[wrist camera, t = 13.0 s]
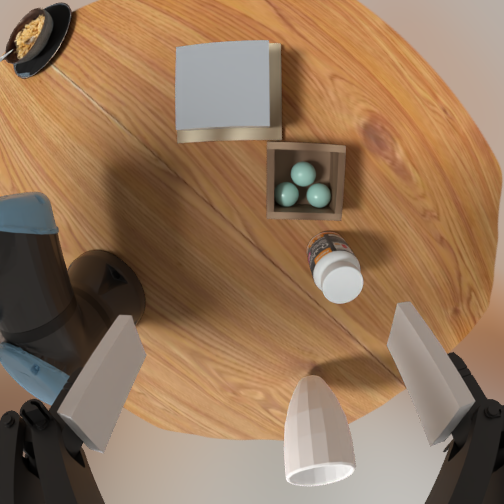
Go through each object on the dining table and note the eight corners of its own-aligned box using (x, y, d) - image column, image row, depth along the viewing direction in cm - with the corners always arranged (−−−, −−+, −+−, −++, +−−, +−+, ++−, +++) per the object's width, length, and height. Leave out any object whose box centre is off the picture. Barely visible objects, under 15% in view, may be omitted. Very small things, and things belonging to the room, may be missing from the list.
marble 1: (273, 202, 35) (273, 209, 32) (274, 179, 34) (273, 184, 31) (297, 203, 35) (298, 210, 32) (298, 180, 33) (299, 185, 31)
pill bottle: (312, 225, 37) (326, 256, 27) (351, 235, 37) (375, 267, 28) (301, 263, 39) (310, 303, 30) (338, 271, 39) (356, 311, 30)
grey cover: (188, 130, 32) (175, 130, 27) (188, 58, 28) (176, 47, 23) (269, 128, 31) (269, 126, 27) (268, 53, 27) (268, 40, 23)
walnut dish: (266, 208, 36) (266, 218, 31) (266, 141, 33) (266, 141, 28) (331, 209, 36) (341, 220, 31) (335, 144, 32) (345, 145, 28)
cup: (282, 351, 45) (287, 465, 25) (341, 351, 45) (369, 457, 25) (278, 389, 49) (279, 488, 30) (330, 388, 49) (346, 483, 29)
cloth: (178, 143, 33) (177, 143, 32) (178, 51, 28) (177, 49, 27) (281, 140, 32) (281, 140, 32) (280, 45, 27) (280, 43, 27)
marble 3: (303, 203, 35) (308, 211, 32) (305, 180, 33) (310, 185, 31) (326, 204, 35) (333, 211, 32) (328, 181, 33) (335, 186, 31)
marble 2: (289, 168, 34) (290, 190, 33) (291, 156, 31) (292, 179, 30) (313, 169, 33) (314, 190, 33) (316, 157, 30) (318, 180, 30)
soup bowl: (67, 64, 28) (37, 58, 21) (10, 89, 29) (-17, 90, 22) (81, -8, 22) (57, -21, 15) (22, 24, 23) (-2, 19, 16)
